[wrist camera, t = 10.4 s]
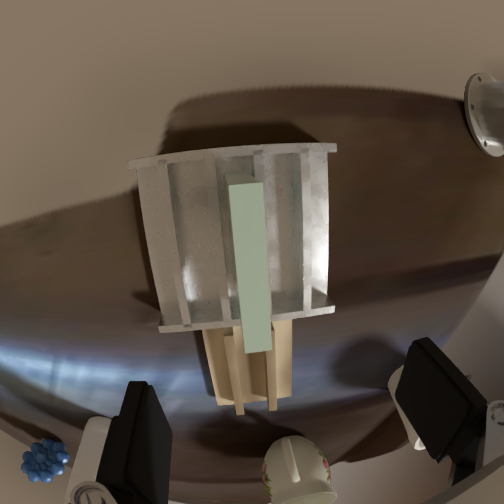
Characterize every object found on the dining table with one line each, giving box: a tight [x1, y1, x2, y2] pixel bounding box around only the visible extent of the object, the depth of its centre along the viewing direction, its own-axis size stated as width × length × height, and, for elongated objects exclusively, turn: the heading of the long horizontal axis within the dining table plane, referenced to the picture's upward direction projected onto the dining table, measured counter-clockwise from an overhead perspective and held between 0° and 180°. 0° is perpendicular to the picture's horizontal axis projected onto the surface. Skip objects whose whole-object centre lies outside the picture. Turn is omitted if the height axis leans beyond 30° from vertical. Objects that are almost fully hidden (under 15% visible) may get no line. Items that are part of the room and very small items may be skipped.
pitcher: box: [262, 436, 337, 504], centre depth 36 cm, size 11×18×14 cm, turn 14°
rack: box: [128, 143, 337, 333], centre depth 28 cm, size 18×17×4 cm
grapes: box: [21, 438, 70, 483], centre depth 33 cm, size 12×7×12 cm, turn 95°
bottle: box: [63, 416, 112, 504], centre depth 24 cm, size 8×8×30 cm
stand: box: [202, 319, 292, 415], centre depth 33 cm, size 10×14×4 cm
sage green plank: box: [224, 172, 272, 354], centre depth 23 cm, size 2×12×10 cm, turn 4°
